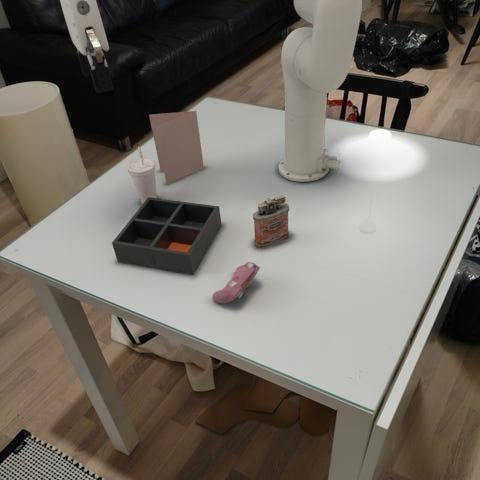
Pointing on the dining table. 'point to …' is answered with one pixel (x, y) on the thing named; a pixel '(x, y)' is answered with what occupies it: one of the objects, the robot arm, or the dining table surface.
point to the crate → (168, 235)
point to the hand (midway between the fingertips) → (98, 82)
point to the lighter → (271, 222)
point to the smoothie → (143, 177)
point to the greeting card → (177, 144)
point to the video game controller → (237, 283)
